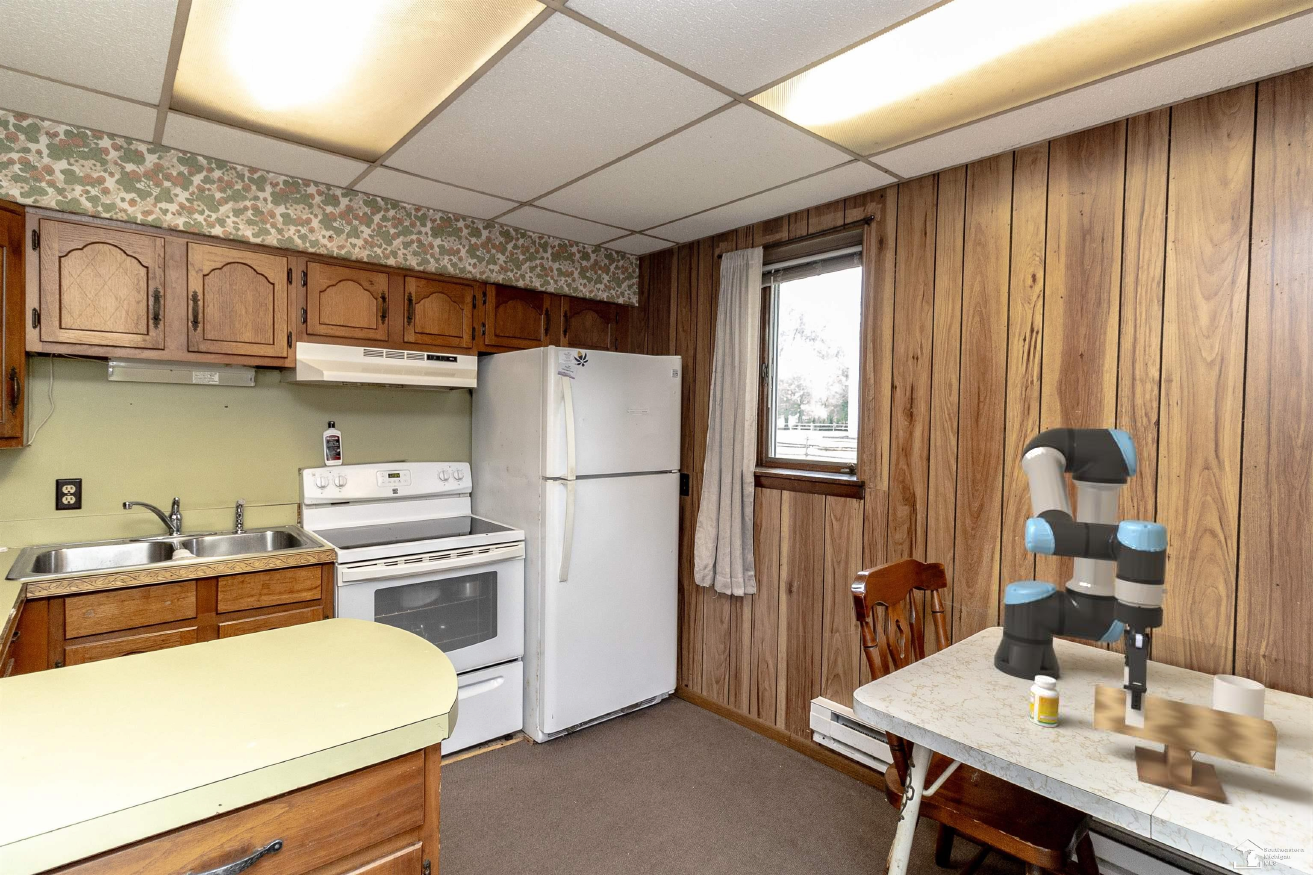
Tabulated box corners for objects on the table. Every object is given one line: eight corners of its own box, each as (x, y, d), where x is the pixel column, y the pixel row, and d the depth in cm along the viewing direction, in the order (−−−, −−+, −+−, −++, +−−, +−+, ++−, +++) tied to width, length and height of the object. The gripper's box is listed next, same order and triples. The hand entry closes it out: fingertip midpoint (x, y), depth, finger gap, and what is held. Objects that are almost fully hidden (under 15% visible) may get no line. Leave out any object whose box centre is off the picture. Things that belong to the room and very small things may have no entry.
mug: (1201, 719, 147) (1204, 666, 147) (1251, 729, 143) (1254, 674, 143) (1215, 740, 137) (1218, 683, 137) (1269, 751, 133) (1272, 693, 133)
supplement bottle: (1023, 719, 144) (1025, 675, 144) (1039, 715, 146) (1041, 672, 146) (1047, 729, 139) (1049, 684, 139) (1063, 725, 141) (1065, 681, 141)
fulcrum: (1138, 780, 119) (1140, 747, 119) (1134, 750, 131) (1136, 720, 131) (1224, 803, 113) (1226, 769, 113) (1212, 770, 124) (1214, 738, 124)
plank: (1093, 727, 127) (1095, 691, 127) (1093, 718, 131) (1095, 684, 131) (1275, 770, 113) (1277, 730, 113) (1269, 760, 116) (1271, 721, 116)
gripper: (1169, 621, 113) (1162, 743, 113) (1158, 593, 133) (1152, 696, 134) (1116, 613, 117) (1109, 730, 117) (1113, 587, 138) (1108, 687, 138)
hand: (1132, 713), depth 126 cm, fingers open, 13 cm apart
